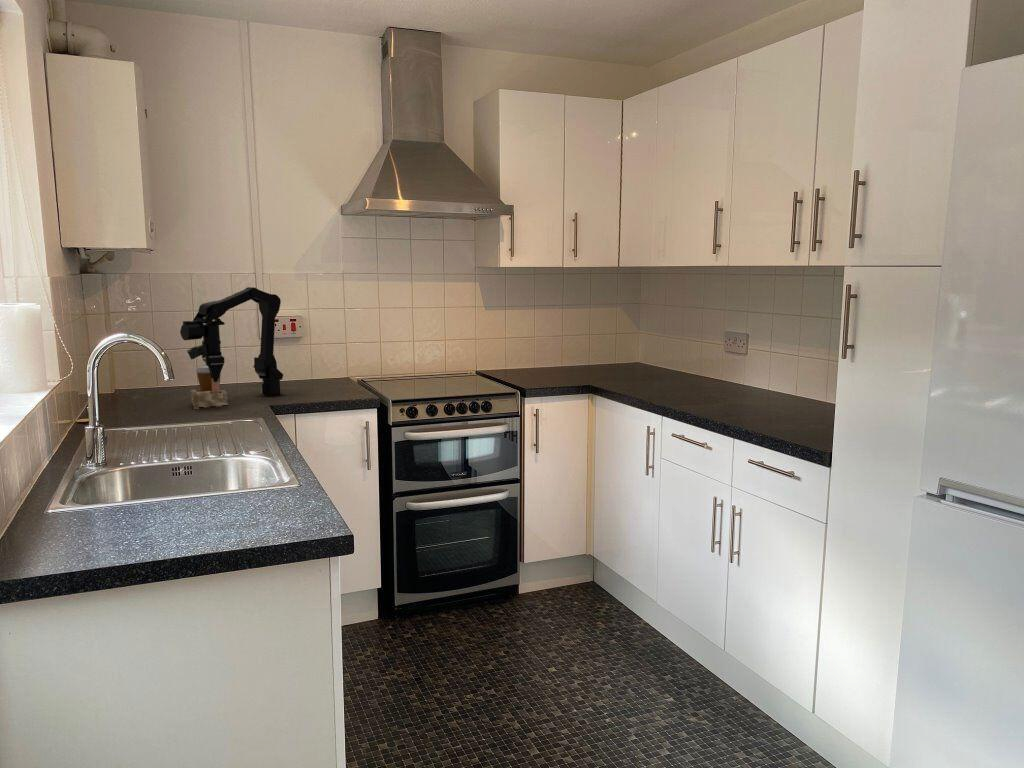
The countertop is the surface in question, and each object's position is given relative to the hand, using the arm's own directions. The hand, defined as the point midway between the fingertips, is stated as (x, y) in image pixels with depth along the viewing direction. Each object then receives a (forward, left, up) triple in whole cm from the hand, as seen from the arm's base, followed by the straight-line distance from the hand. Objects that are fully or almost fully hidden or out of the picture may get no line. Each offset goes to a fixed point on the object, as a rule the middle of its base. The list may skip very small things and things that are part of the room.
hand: (214, 379), depth 279 cm
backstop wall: (+7, 0, -9) cm, 12 cm away
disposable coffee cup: (0, -17, -9) cm, 20 cm away
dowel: (0, 0, -8) cm, 8 cm away
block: (+1, 0, -9) cm, 9 cm away
